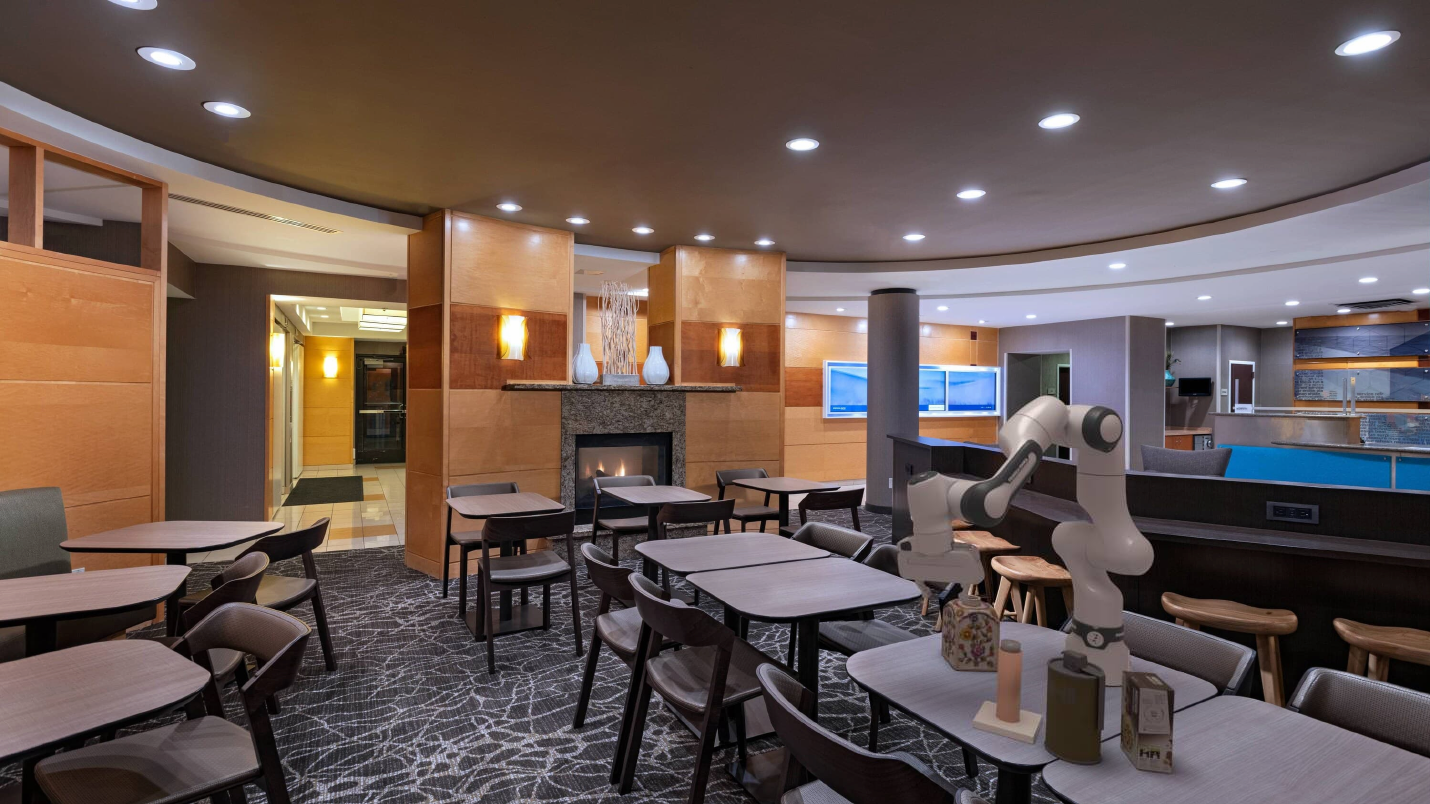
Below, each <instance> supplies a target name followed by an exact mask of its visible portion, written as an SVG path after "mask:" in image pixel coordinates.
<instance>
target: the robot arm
mask: <svg viewBox="0 0 1430 804" xmlns="http://www.w3.org/2000/svg"><path fill="white" fill-rule="evenodd" d="M1123 430H1124V426H1123V420H1122V419H1121V417H1120V415H1119V413H1118V412H1117V411H1116V410H1114V409H1112V408H1109V407H1106V406H1103V405H1096V406H1095V405H1088V404H1079V403H1078V404H1068V405H1067V404H1065V403H1064V401H1062V400H1060V399H1059V398H1058V397H1055V396H1052V395H1042V396H1038V397H1037V398H1035V399H1033V400H1031V401H1030V402H1029V403H1027V404H1026V405H1024V406H1023V407H1021V408H1020V409H1019V410H1018V411H1016V413H1014V414H1013V415H1012V416H1011V417H1010V418H1009V419H1008V420H1007V421H1006V422H1005V423H1004V424H1003V425H1002V427H1001V428H1000V430H999V431H998V433H997V443H998V446H999V449H1000V451H1001V453H1003V455H1004V456H1005V457H1006V458H1007V459H1006V461H1005V462H1004V463H1003V464H1002V465H1001V466H1000V468H999V469H998V470H997V471H996V473H995V474H994V475H993V476H992V477H991V478H989V479H986V480H979V481H976V480H968V479H963V478H962V479H961V478H954V477H949V476H946V475H944V474H942V473H941V474H940V472H938V471H936V470H935V471H934V470H927V471H925V472H920V473H917V474H916V475H913V476H912V477H911V478H910V479H909V480H908V483H907V487H906V493H907V494H906V495H907V504H908V509H909V511H908V512H909V515H910V517H911V518H912V522H913V523H912V524H913V526H912V527H913V528H912V530H913V531H912V533H913V534H911V535H909V536H907V537H905V538H902V539H901V540H899V541H898V542H897V543H896V548H897V550H898V551H899V552H898V553H897V565H898V571H899V575H900V577H901V578H902V579H904V580H911V581H912V580H914V584H915V585H916V587H917V588H918V589H919V590H920V591H921V597H922V598H923V599H924V598H925V599H930V598H931V597H932V593H931V588H928V587H927V586H926V584H925V581H928V582H941V583H953V584H960V588H961V589H962V591H960V592H959V593H958V595H957V596H958V599H959V601H963V602H967V601H968V599H969V598H968V595H969V591H970V589H971V586H972V585H979V584H980V583H982V581H984V579H985V577H986V576H985V575H986V574H985V570H984V567H983V564H982V561H981V554H980V550H979V548H978V547H977V546H976V545H974V544H973V543H972V542H968V541H967V542H961V541H955V535H954V531H953V526H952V523H953V521H955V520H959V521H961V522H966V523H971V524H973V525H975V526H979V527H981V528H991V527H992V528H993V527H995V526H997V525H998V524H1000V523H1001V522H1002V521H1003V520H1004V518H1005V517H1006V515H1007V513H1008V511H1009V509H1010V507H1011V504H1012V502H1013V500H1015V497H1016V496H1017V494H1018V493H1019V492H1020V491H1021V489H1022V488H1023V487H1024V486H1025V484H1027V482H1028V480H1029V479H1030V478H1031V477H1032V475H1033V474H1034V473H1035V472H1036V470H1037V469H1038V468H1039V466H1040V464H1041V463H1042V460H1043V456H1044V453H1045V451H1046V450H1047V449H1048V448H1049V447H1050V446H1051V445H1052V446H1060V447H1065V448H1072V449H1076V451H1077V452H1078V454H1077V460H1076V461H1077V462H1076V463H1077V464H1076V500H1077V503H1078V505H1079V506H1080V507H1082V509H1084V510H1085V511H1086V512H1087V513H1088V514H1089V516H1090V518H1091V521H1092V522H1093V523H1091V522H1087V521H1086V522H1085V521H1078V520H1077V521H1075V520H1074V521H1062V522H1061V523H1059V524H1058V525H1057V526H1056V527H1055V528H1054V530H1053V532H1052V535H1051V544H1052V547H1053V549H1054V552H1056V554H1057V555H1058V556H1059V557H1060V558H1061V560H1062V561H1063V563H1064V564H1065V566H1066V569H1067V571H1068V573H1069V576H1070V579H1071V582H1072V588H1073V615H1072V618H1071V623H1070V625H1071V628H1070V630H1071V633H1069V634H1068V635H1066V636H1065V637H1064V643H1063V645H1064V646H1063V651H1065V650H1072V651H1075V652H1077V653H1082V654H1085V655H1087V660H1088V662H1090V663H1093V664H1096V665H1097V666H1099V667H1101V668H1102V669H1103V670H1104V673H1105V676H1106V681H1105V686H1108V687H1109V686H1111V687H1112V686H1113V687H1114V686H1117V687H1119V686H1122V671H1129V672H1135V671H1134V669H1133V667H1132V662H1131V661H1130V658H1131V657H1130V655H1131V653H1130V652H1131V651H1130V649H1129V647H1128V646H1127V644H1125V642H1124V639H1125V625H1124V624H1123V611H1124V610H1123V609H1124V597H1123V594H1122V592H1121V590H1120V589H1119V588H1118V586H1116V585H1115V583H1113V582H1112V581H1111V579H1110V577H1109V575H1108V573H1107V572H1111V573H1114V574H1119V575H1126V576H1141V575H1144V574H1145V573H1146V572H1148V571H1149V570H1150V568H1151V567H1152V565H1153V562H1154V559H1155V558H1154V557H1155V554H1154V549H1153V546H1152V544H1151V543H1150V540H1148V539H1147V538H1146V537H1145V536H1144V535H1143V534H1142V533H1141V532H1140V530H1138V528H1137V526H1136V525H1135V523H1134V521H1133V519H1132V517H1131V514H1130V511H1129V509H1128V503H1127V494H1126V492H1127V491H1126V489H1127V488H1126V486H1127V485H1126V484H1127V483H1126V482H1127V481H1126V474H1127V473H1126V471H1127V470H1126V469H1127V468H1126V456H1125V452H1124V451H1125V450H1124V446H1123V441H1122V439H1121V438H1122V435H1123Z"/></svg>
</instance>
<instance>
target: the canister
mask: <svg viewBox="0 0 1430 804" xmlns="http://www.w3.org/2000/svg"><path fill="white" fill-rule="evenodd" d="M1060 654H1061V655H1063V656H1055V657H1051V658H1048V660H1047V661H1046V665H1047V677H1046V678H1047V679H1046V680H1047V684H1046V707H1045V708H1046V711H1045V739H1044V743H1043V745H1044V748H1045V750H1046V751H1048V753H1049V754H1051V756H1055V757H1056V758H1058V759H1060V760H1061V761H1062V760H1063V761H1066V762H1069V763H1071V764H1077V765H1081V766H1082V765H1083V766H1085V765H1095V764H1098V763H1100V762H1101V761H1102V759H1103V755H1102V753H1101V749H1102V731H1104V730H1105V706H1106V705H1105V704H1106V685H1105V681H1106V676H1105V673H1104V670H1103V669H1102V668H1101V667H1099V666H1097V665H1096V664H1093V663H1090V662H1088V660H1087V655H1085V654H1082V653H1077V652H1075V651H1072V650H1065V651H1064V650H1063V651H1061V652H1060Z"/></svg>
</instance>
